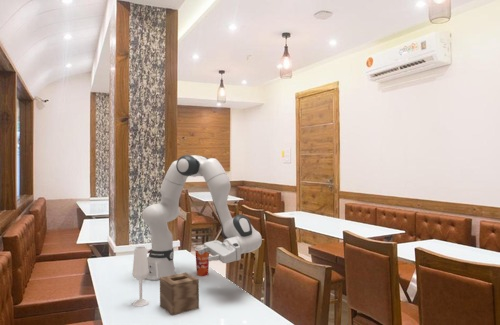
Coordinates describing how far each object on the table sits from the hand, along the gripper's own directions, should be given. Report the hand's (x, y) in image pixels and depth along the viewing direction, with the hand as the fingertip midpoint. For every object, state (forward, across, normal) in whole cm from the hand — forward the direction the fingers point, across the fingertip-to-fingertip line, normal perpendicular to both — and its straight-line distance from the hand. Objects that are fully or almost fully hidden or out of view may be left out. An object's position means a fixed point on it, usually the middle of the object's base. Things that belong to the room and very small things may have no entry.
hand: (203, 255), depth 166 cm
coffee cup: (-12, -32, +25) cm, 42 cm away
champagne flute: (+27, -8, +17) cm, 33 cm away
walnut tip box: (+15, +5, +17) cm, 23 cm away
